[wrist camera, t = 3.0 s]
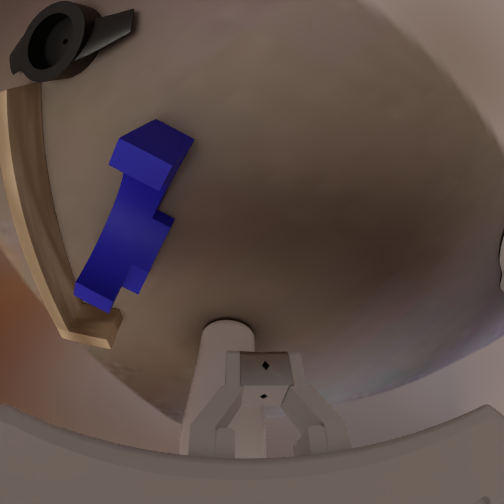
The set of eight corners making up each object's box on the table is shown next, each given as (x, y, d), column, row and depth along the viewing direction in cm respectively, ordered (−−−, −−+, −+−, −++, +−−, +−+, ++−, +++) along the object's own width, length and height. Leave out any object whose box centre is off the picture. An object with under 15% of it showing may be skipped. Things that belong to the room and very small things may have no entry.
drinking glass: (273, 340, 28) (283, 481, 16) (220, 359, 30) (213, 486, 18) (237, 301, 25) (233, 472, 13) (181, 325, 27) (156, 471, 15)
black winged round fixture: (58, -14, 9) (37, -20, 6) (152, 16, 12) (136, 8, 10) (15, 70, 12) (-8, 74, 10) (95, 112, 16) (73, 119, 13)
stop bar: (86, 71, 13) (53, 74, 10) (122, 319, 27) (110, 349, 23) (28, 86, 13) (-6, 94, 10) (76, 311, 26) (62, 338, 23)
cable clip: (148, 270, 23) (127, 322, 18) (103, 247, 22) (73, 294, 17) (214, 149, 18) (200, 180, 13) (156, 118, 16) (119, 138, 11)
